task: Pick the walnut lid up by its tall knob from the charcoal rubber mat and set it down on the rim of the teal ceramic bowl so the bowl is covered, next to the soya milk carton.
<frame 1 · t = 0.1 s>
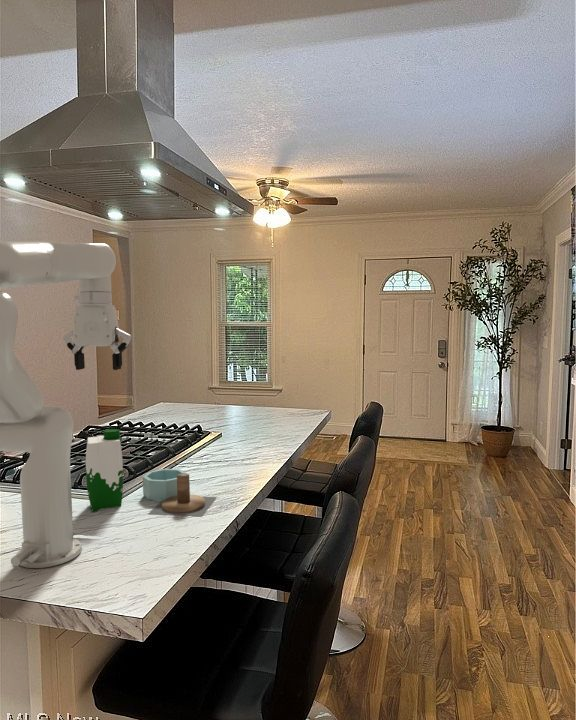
hand: (98, 369, 133), 37 cm above the worktop, tool pointing down, fingers open, 9 cm apart
lid: (183, 505, 139), point 1 cm above the worktop, touching mat
bowl: (165, 495, 148), on the worktop
mat: (183, 507, 139), on the worktop
soya milk: (106, 506, 141), on the worktop
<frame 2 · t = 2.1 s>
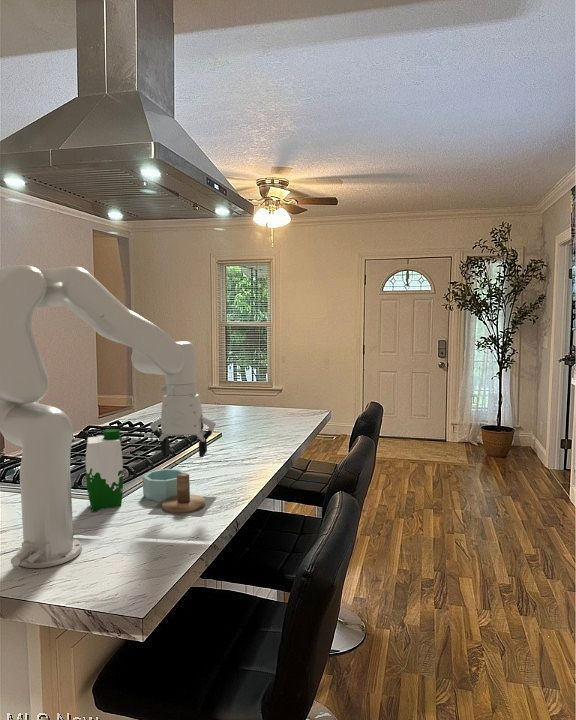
hand: (184, 455, 138), 14 cm above the worktop, tool pointing down, fingers open, 9 cm apart
nothing on the worktop moved.
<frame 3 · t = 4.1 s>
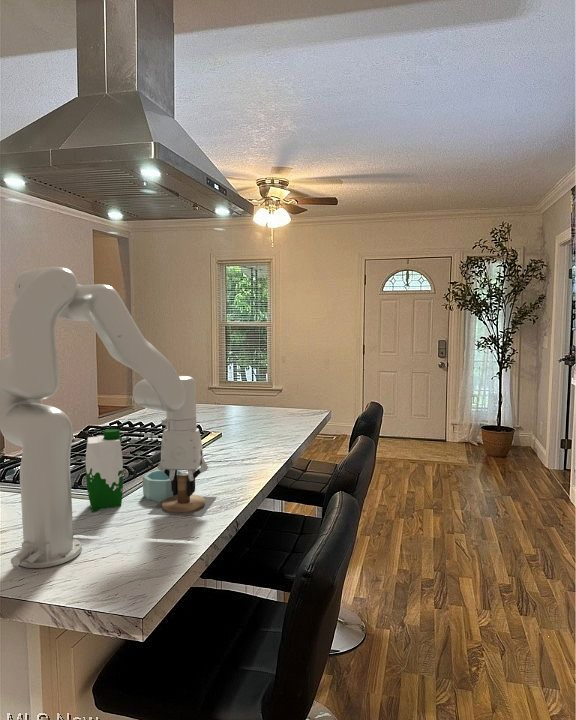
hand: (183, 493, 139), 4 cm above the worktop, tool pointing down, fingers closed on lid, 3 cm apart
lid: (183, 505, 139), point 1 cm above the worktop, touching gripper, mat
everything else where it was.
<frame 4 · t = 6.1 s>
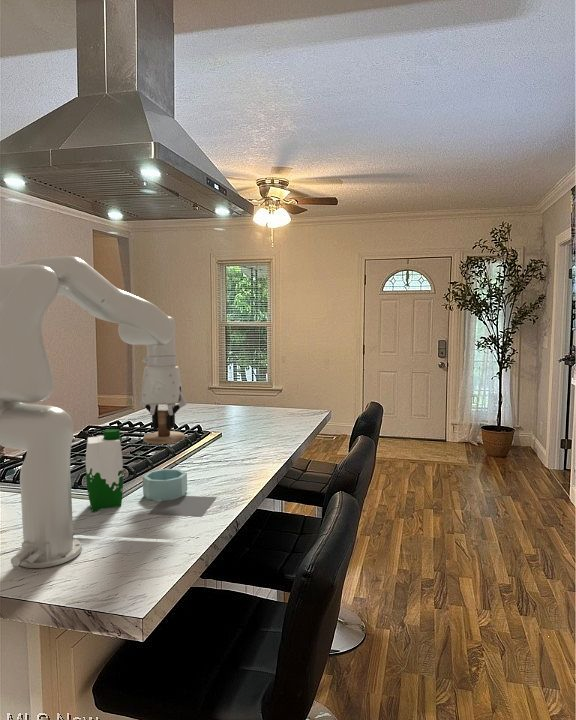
hand: (163, 428, 146), 19 cm above the worktop, tool pointing down, fingers closed on lid, 3 cm apart
lid: (164, 439, 147), point 16 cm above the worktop, touching gripper
everything else where it was.
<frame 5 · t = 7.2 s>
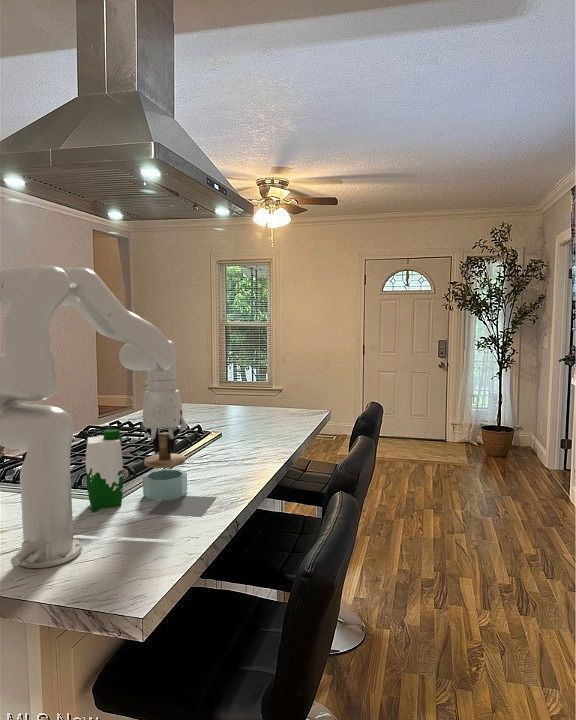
hand: (164, 451, 147), 13 cm above the worktop, tool pointing down, fingers closed on lid, 3 cm apart
lid: (165, 462, 148), point 9 cm above the worktop, touching gripper
everything else where it was.
when the fingers open (11 cm above the worktop, at t = 8.2 s): lid drops 1 cm, resting on bowl.
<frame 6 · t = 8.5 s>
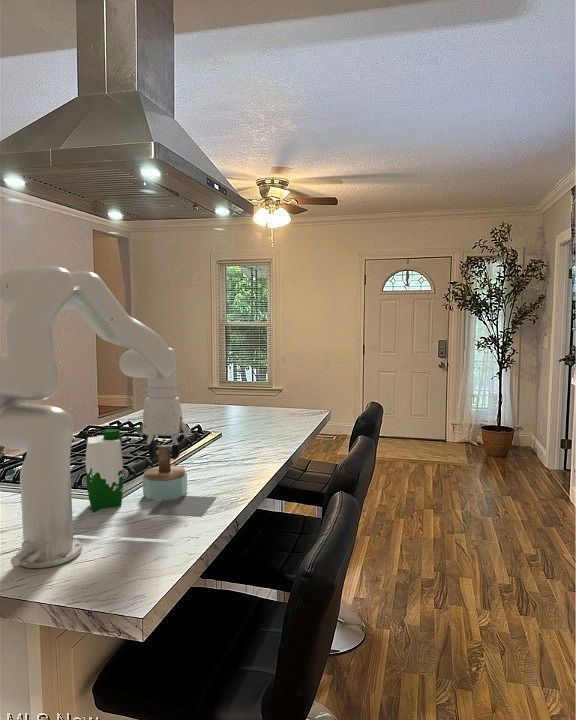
hand: (164, 457, 147), 11 cm above the worktop, tool pointing down, fingers open, 5 cm apart
lid: (164, 474, 148), point 6 cm above the worktop, touching bowl
everything else where it was.
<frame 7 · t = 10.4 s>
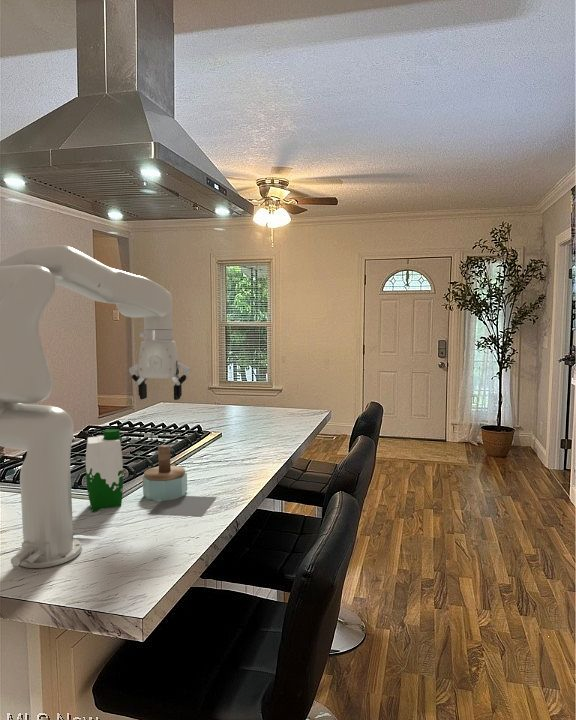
hand: (160, 399, 146), 27 cm above the worktop, tool pointing down, fingers open, 9 cm apart
nothing on the worktop moved.
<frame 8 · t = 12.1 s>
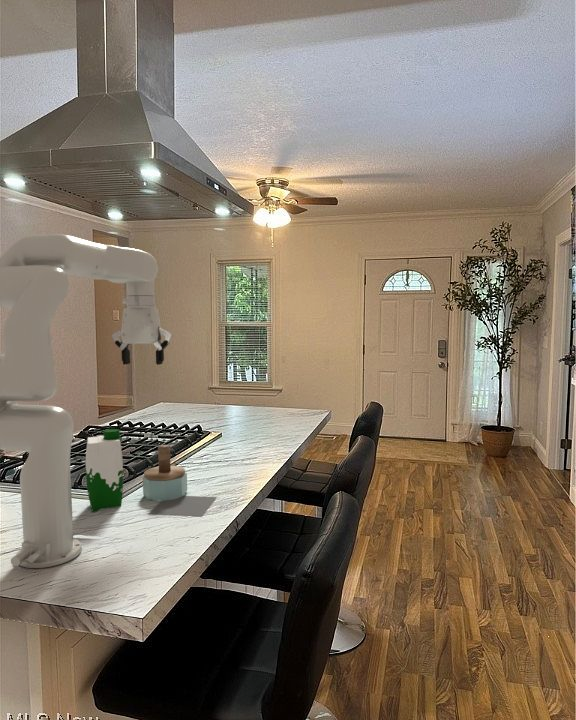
hand: (143, 364, 150), 36 cm above the worktop, tool pointing down, fingers open, 9 cm apart
nothing on the worktop moved.
at the end: lid 0.0 cm off-centre on the bowl, point 6.0 cm above the bowl's base; lid tilted 0°; the gripper is holding nothing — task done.
